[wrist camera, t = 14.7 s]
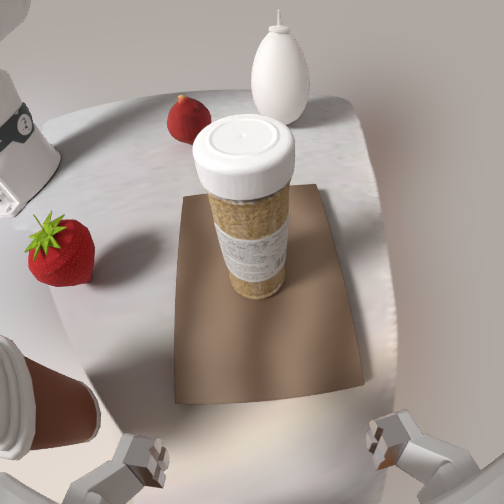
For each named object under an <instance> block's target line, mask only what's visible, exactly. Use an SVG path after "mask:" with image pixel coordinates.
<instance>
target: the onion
mask: <svg viewBox="0 0 504 504" xmlns="http://www.w3.org/2000/svg"><path fill="white" fill-rule="evenodd" d="M177 98H178V102H177V103H176V104H175V105H174V106H173V107H172V108H171V110H170V112H169V115H168V120H167V128H168V130H169V132H170V134H171V135H172V136H173V137H174V138H175V139H176V140H178V141H181V142H184V143H188V144H191V145H193V144H194V141H195V139H196V137H197V135H198V134H199V133H200V132H201V131H202V130H203V129H204V128H205V127H207V126H208V125H210V124H211V115H210V112H209V111H208V109H207V108H206V107H205V106H204V105H203V104H202V103H201V102H199V101H197V100H195V99H192V98H189V97H186V96H185V95H179V96H178V97H177Z"/></svg>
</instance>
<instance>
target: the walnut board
mask: <svg viewBox="0 0 504 504" xmlns="http://www.w3.org/2000/svg"><path fill="white" fill-rule="evenodd" d="M284 270H285V275H284V281H283V283H282V286H281V287H280V288H279V290H278V291H277V292H276V293H275V294H273V295H272V296H270V297H267V298H265V299H259V300H255V299H249V298H246V297H244V296H242V295H240V294H239V293H237V291H236V290H235V289H234V287H233V286H232V284H231V281H230V275H229V270H228V267H227V265H226V263H225V260H224V256H223V253H222V249H221V246H220V243H219V239H218V235H217V231H216V228H215V224H214V218H213V213H212V209H211V205H210V202H209V197H208V194H200V195H193V196H185V197H183V205H182V215H181V225H180V236H179V248H178V261H177V277H176V297H175V329H174V377H175V403H179V404H225V403H246V402H259V401H270V400H280V399H288V398H296V397H303V396H310V395H316V394H322V393H327V392H333V391H338V390H343V389H348V388H352V387H357V386H361V385H364V379H363V373H362V367H361V361H360V355H359V349H358V344H357V339H356V333H355V328H354V324H353V319H352V314H351V309H350V305H349V300H348V296H347V292H346V287H345V283H344V279H343V275H342V271H341V267H340V263H339V260H338V256H337V252H336V248H335V245H334V241H333V238H332V234H331V231H330V227H329V224H328V220H327V217H326V214H325V210H324V207H323V204H322V201H321V198H320V195H319V191H318V188H317V185H316V184H308V185H292V186H290V188H289V224H288V238H287V249H286V259H285V263H284Z"/></svg>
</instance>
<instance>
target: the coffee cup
mask: <svg viewBox="0 0 504 504" xmlns="http://www.w3.org/2000/svg"><path fill="white" fill-rule="evenodd" d="M100 421H101V412H100V408H99V404H98V401H97V399H96V397H95V396H94V394H93V392H92V391H91V389H90V388H89V387H87V386H86V385H85V384H84V383H83V382H80V381H77V380H75V379H72V378H69V377H67V376H65V375H63V374H60V373H58V372H56V371H53V370H51V369H49V368H47V367H45V366H43V365H41V364H39V363H36V362H35V361H33V360H31V359H28V358H27V357H25V356H23V354H22V353H21V351H20V350H19V349H18V348H17V346H16V345H15V344H14V342H13V341H12V340H10V339H8V338H6V337H4V336H1V335H0V458H4V459H9V460H20V459H21V458H22V457H23V456H25V455H26V454H27V453H28V452H29V451H30V450H39V449H47V448H54V447H61V446H67V445H73V444H78V443H83V442H89V441H90V440H92V439H93V438H94V437H95V436H96V435H97V433H98V430H99V428H100Z"/></svg>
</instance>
